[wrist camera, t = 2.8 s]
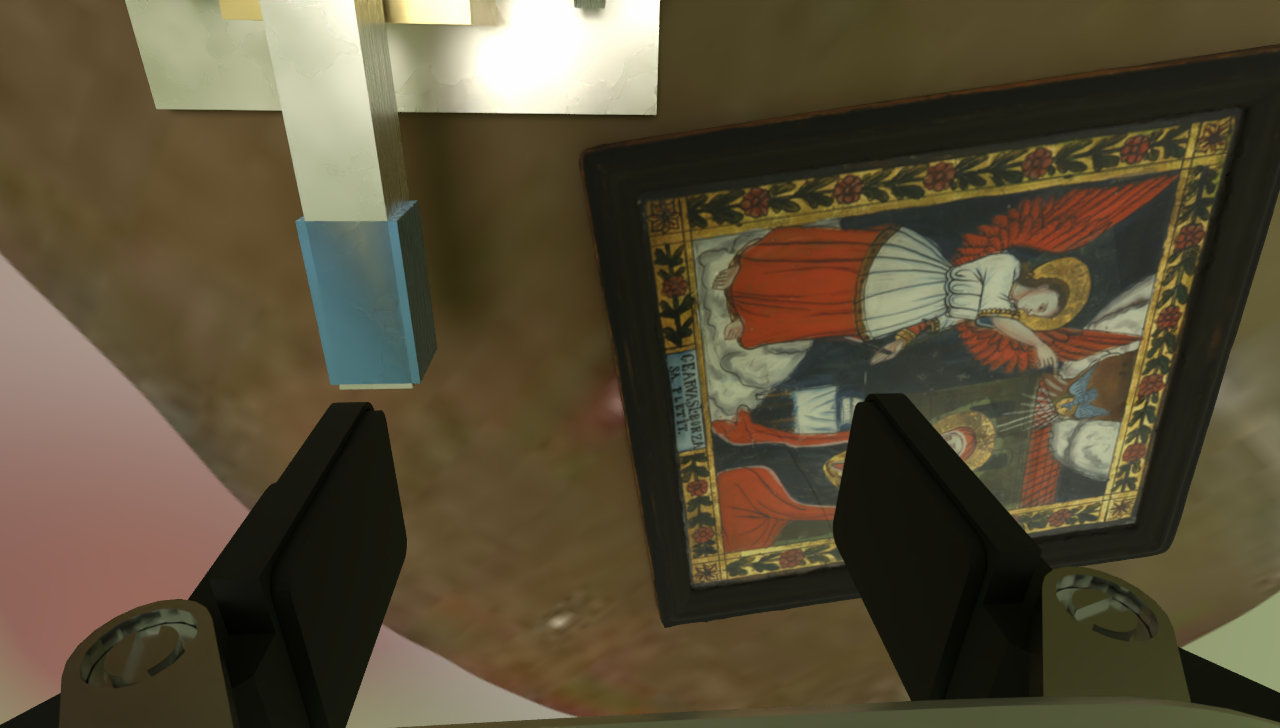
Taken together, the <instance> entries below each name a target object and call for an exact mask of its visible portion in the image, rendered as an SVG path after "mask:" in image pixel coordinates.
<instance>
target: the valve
mask: <svg viewBox="0 0 1280 728" xmlns="http://www.w3.org/2000/svg"><path fill="white" fill-rule="evenodd" d="M382 1H383V9H384V16H385V23H386V31H387V38H388V45H389V53H390V60H391V67H392V75H393V82H394V90H395V97H396V104H397V112H453V113H537V114H621V115H656V114H657V78H658V42H659V5H660V0H382ZM125 2H126V5H127V8H128V12H129V15H130V19H131V22H132V26H133V29H134V33H135V36H136V40H137V43H138V47H139V50H140V54H141V57H142V61H143V64H144V68H145V71H146V75H147V78H148V82H149V85H150V89H151V92H152V95H153V99H154V102H155V106H156V109H201V110H282V108H281V104H280V99H279V94H278V89H277V84H276V80H275V75H274V70H273V65H272V60H271V56H270V51H269V46H268V41H267V36H266V32H265V27H264V22H263V17H262V12H261V8H260V3H259V0H125Z"/></svg>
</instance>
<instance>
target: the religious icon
mask: <svg viewBox="0 0 1280 728" xmlns="http://www.w3.org/2000/svg"><path fill="white" fill-rule="evenodd" d="M579 164H580V170H581V176H582V181H583V187H584V192H585V198H586V203H587V209H588V215H589V220H590V225H591V231H592V236H593V242H594V247H595V253H596V259H597V264H598V270H599V276H600V281H601V287H602V293H603V299H604V304H605V310H606V315H607V321H608V326H609V332H610V338H611V343H612V349H613V355H614V360H615V366H616V372H617V377H618V383H619V389H620V395H621V400H622V405H623V410H624V416H625V423H626V429H627V434H628V440H629V446H630V451H631V457H632V463H633V468H634V474H635V479H636V485H637V491H638V497H639V502H640V508H641V514H642V519H643V525H644V531H645V536H646V542H647V547H648V553H649V559H650V564H651V570H652V575H653V581H654V587H655V596H656V602H657V606H658V610H659V614H660V619H661V621H662V623H663V625H664V628H668V627H672V626H676V625H681V624H688V623H696V622H708V621H712V620H717V619H725V618H730V617H735V616H742V615H749V614H754V613H761V612H768V611H777V610H786V609H791V608H796V607H802V606H809V605H815V604H822V603H829V602H836V601H842V600H849V599H857V598H861V596H860V594H859V592H858V590H857V588H856V586H855V584H854V582H853V579H852V577H851V575H850V573H849V571H848V569H847V567H846V565H845V563H844V561H843V559H842V557H841V555H840V553H839V551H838V548H837V546H836V544H835V541H834V537H833V519H834V514H835V509H836V503H837V498H838V493H839V487H840V482H841V477H842V471H843V466H844V461H845V455H846V450H847V445H848V439H849V434H850V429H851V423H852V418H853V413H854V409H855V406H856V404H857V403H858V402H864V400H865V398H866V397H867V395H869V394H875V393H903V394H904V395H906V396H907V397H908V398H909V400H910V401H911V402H912V403H913V404H914V405H915V406H916V408H917V409H918V410H919V411H920V412H921V413H922V414H923V415H924V417H925V418H926V419H927V420H928V421H929V422H930V423H931V425H932V426H933V427H934V428H935V429H936V430H937V431H938V433H939V434H940V435H941V436H942V437H943V438H944V439H945V440H946V442H947V443H948V444H949V445H950V446H951V447H952V448H953V450H954V451H955V452H956V453H957V454H958V455H959V456H960V458H961V459H962V460H963V461H964V462H965V463H966V464H967V465H968V467H969V468H970V469H971V470H972V471H973V472H974V473H975V475H976V476H977V477H978V478H979V479H980V480H981V481H982V483H983V484H984V485H985V486H986V487H987V488H988V489H989V491H990V492H991V493H992V494H993V495H994V496H995V497H996V498H997V500H998V501H999V502H1000V503H1001V504H1002V505H1003V506H1004V508H1005V509H1006V510H1007V511H1008V512H1009V513H1010V514H1011V516H1012V517H1013V518H1014V519H1015V520H1016V521H1017V522H1018V523H1019V525H1020V526H1021V527H1022V528H1023V529H1024V530H1025V531H1026V533H1027V534H1028V535H1029V536H1030V537H1031V538H1032V539H1033V541H1034V542H1035V543H1036V544H1037V545H1038V546H1039V547H1040V549H1041V550H1042V553H1041V557H1042V558H1043V559H1044V561H1045V562H1046V563H1047V564H1048V565H1049V566H1050V567H1051V569H1052V570H1053V569H1057V568H1061V567H1066V566H1070V567H1079V566H1086V565H1093V564H1101V563H1107V562H1113V561H1121V560H1127V559H1134V558H1142V557H1148V556H1153V555H1158V554H1161V553H1164V552H1166V551H1167V550H1168V549H1169V548H1170V546H1171V544H1172V542H1173V540H1174V537H1175V534H1176V531H1177V528H1178V526H1179V523H1180V520H1181V516H1182V513H1183V510H1184V506H1185V502H1186V498H1187V495H1188V491H1189V488H1190V485H1191V481H1192V478H1193V475H1194V472H1195V469H1196V465H1197V462H1198V459H1199V455H1200V452H1201V449H1202V445H1203V442H1204V439H1205V435H1206V432H1207V429H1208V426H1209V422H1210V419H1211V416H1212V413H1213V410H1214V406H1215V403H1216V400H1217V396H1218V393H1219V389H1220V386H1221V382H1222V379H1223V376H1224V372H1225V369H1226V365H1227V361H1228V358H1229V354H1230V351H1231V348H1232V346H1233V343H1234V340H1235V337H1236V334H1237V331H1238V328H1239V325H1240V321H1241V318H1242V314H1243V311H1244V308H1245V305H1246V301H1247V298H1248V295H1249V291H1250V288H1251V285H1252V281H1253V278H1254V275H1255V272H1256V268H1257V265H1258V261H1259V258H1260V255H1261V251H1262V248H1263V245H1264V242H1265V238H1266V235H1267V232H1268V228H1269V225H1270V221H1271V218H1272V215H1273V211H1274V207H1275V204H1276V201H1277V197H1278V194H1279V190H1280V45H1271V46H1264V47H1257V48H1251V49H1244V50H1237V51H1231V52H1224V53H1218V54H1211V55H1205V56H1198V57H1192V58H1186V59H1178V60H1171V61H1165V62H1158V63H1153V64H1147V65H1141V66H1134V67H1125V68H1117V69H1109V70H1101V71H1094V72H1087V73H1081V74H1073V75H1067V76H1059V77H1052V78H1045V79H1038V80H1032V81H1025V82H1018V83H1011V84H1004V85H998V86H990V87H983V88H976V89H970V90H963V91H956V92H949V93H941V94H934V95H927V96H921V97H914V98H907V99H899V100H892V101H885V102H878V103H872V104H866V105H858V106H852V107H846V108H839V109H832V110H825V111H818V112H811V113H805V114H798V115H792V116H785V117H778V118H772V119H765V120H759V121H752V122H746V123H740V124H734V125H727V126H721V127H714V128H708V129H702V130H696V131H690V132H682V133H675V134H668V135H662V136H655V137H648V138H641V139H635V140H629V141H623V142H618V143H612V144H603V145H599V146H596V147H592V148H589V149H587V150H585V151H584V152H583V153H582V154H581V156H580V160H579Z"/></svg>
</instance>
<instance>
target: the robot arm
mask: <svg viewBox="0 0 1280 728" xmlns="http://www.w3.org/2000/svg"><path fill="white" fill-rule="evenodd" d="M833 537H834V541H835V544H836V546H837V548H838V551H839V553H840V555H841V557H842V559H843V561H844V563H845V565H846V567H847V569H848V571H849V573H850V575H851V577H852V579H853V582H854V584H855V586H856V588H857V590H858V592H859V594H860V596H861V598H862V600H863V602H864V604H865V606H866V608H867V610H868V613H869V615H870V617H871V619H872V621H873V623H874V625H875V627H876V629H877V631H878V633H879V635H880V637H881V639H882V641H883V643H884V646H885V648H886V650H887V652H888V654H889V656H890V658H891V660H892V662H893V664H894V666H895V668H896V670H897V672H898V674H899V677H900V679H901V681H902V683H903V685H904V687H905V689H906V691H907V693H908V695H909V697H910V699H911V701H906V702H883V703H861V704H839V705H817V706H794V707H773V708H753V709H733V710H713V711H693V712H673V713H653V714H634V715H615V716H595V717H576V718H558V719H541V720H540V719H539V720H522V721H506V722H487V723H469V724H451V725H433V726H416V727H398V728H1280V693H1279V692H1277V691H1275V690H1272V689H1270V688H1268V687H1266V686H1263V685H1261V684H1259V683H1257V682H1254V681H1252V680H1250V679H1248V678H1246V677H1244V676H1241V675H1239V674H1237V673H1235V672H1232V671H1230V670H1228V669H1226V668H1224V667H1221V666H1219V665H1217V664H1215V663H1212V662H1210V661H1208V660H1206V659H1204V658H1201V657H1199V656H1197V655H1195V654H1193V653H1190V652H1188V651H1186V650H1183V649H1181V648H1179V647H1178V645H1177V641H1176V637H1175V633H1174V628H1173V626H1172V624H1171V622H1170V620H1169V618H1168V616H1167V614H1166V613H1165V612H1164V611H1163V610H1162V608H1161V607H1160V606H1159V605H1158V604H1157V603H1156V602H1155V601H1154V600H1153V599H1152V598H1150V597H1149V596H1148V595H1146V594H1145V593H1144V592H1143V591H1141V590H1140V589H1139V588H1137V587H1135V586H1133V585H1131V584H1130V583H1128V582H1126V581H1124V580H1122V579H1121V578H1118V577H1115V576H1113V575H1110V574H1108V573H1105V572H1102V571H1099V570H1094V569H1090V568H1085V567H1070V566H1066V567H1061V568H1057V569H1053V570H1052V569H1051V567H1050V566H1049V565H1048V564H1047V563H1046V562H1045V561H1044V559H1043V558H1042V557H1041V553H1042V550H1041V549H1040V547H1039V546H1038V545H1037V544H1036V543H1035V542H1034V541H1033V539H1032V538H1031V537H1030V536H1029V535H1028V534H1027V533H1026V531H1025V530H1024V529H1023V528H1022V527H1021V526H1020V525H1019V523H1018V522H1017V521H1016V520H1015V519H1014V518H1013V517H1012V516H1011V514H1010V513H1009V512H1008V511H1007V510H1006V509H1005V508H1004V506H1003V505H1002V504H1001V503H1000V502H999V501H998V500H997V498H996V497H995V496H994V495H993V494H992V493H991V492H990V491H989V489H988V488H987V487H986V486H985V485H984V484H983V483H982V481H981V480H980V479H979V478H978V477H977V476H976V475H975V473H974V472H973V471H972V470H971V469H970V468H969V467H968V465H967V464H966V463H965V462H964V461H963V460H962V459H961V458H960V456H959V455H958V454H957V453H956V452H955V451H954V450H953V448H952V447H951V446H950V445H949V444H948V443H947V442H946V440H945V439H944V438H943V437H942V436H941V435H940V434H939V433H938V431H937V430H936V429H935V428H934V427H933V426H932V425H931V423H930V422H929V421H928V420H927V419H926V418H925V417H924V415H923V414H922V413H921V412H920V411H919V410H918V409H917V408H916V406H915V405H914V404H913V403H912V402H911V401H910V400H909V398H908V397H907V396H906V395H904V394H903V393H875V394H869V395H867V397H866V398H865V400H864V402H858V403H857V404H856V406H855V409H854V413H853V418H852V423H851V429H850V434H849V439H848V445H847V450H846V455H845V461H844V466H843V471H842V477H841V482H840V487H839V493H838V498H837V503H836V509H835V514H834V519H833ZM406 549H407V537H406V531H405V525H404V519H403V513H402V508H401V502H400V496H399V491H398V485H397V479H396V474H395V468H394V462H393V457H392V451H391V445H390V440H389V434H388V428H387V422H386V418H385V414H384V412H383V411H382V410H380V411H374V408H373V406H372V404H371V403H369V402H348V403H332V404H331V405H330V406H329V408H328V409H327V411H326V412H325V414H324V415H323V416H322V418H321V419H320V421H319V422H318V424H317V425H316V426H315V428H314V429H313V431H312V432H311V434H310V435H309V436H308V438H307V439H306V441H305V442H304V444H303V445H302V447H301V448H300V449H299V451H298V452H297V454H296V455H295V457H294V458H293V459H292V461H291V462H290V464H289V465H288V467H287V468H286V469H285V471H284V472H283V474H282V475H281V477H280V478H279V479H278V481H277V482H276V483H273V484H271V485H270V486H269V487H268V488H267V489H266V490H265V492H264V493H263V495H262V496H261V497H260V499H259V500H258V502H257V503H256V504H255V506H254V507H253V509H252V510H251V512H250V513H249V514H248V516H247V517H246V519H245V520H244V521H243V523H242V524H241V526H240V527H239V528H238V530H237V531H236V533H235V534H234V535H233V537H232V538H231V540H230V541H229V543H228V544H227V545H226V547H225V548H224V550H223V551H222V553H221V554H220V555H219V557H218V558H217V560H216V561H215V562H214V564H213V565H212V566H211V568H210V569H209V571H208V572H207V574H206V575H205V577H204V578H203V579H202V581H201V582H200V583H199V585H198V586H197V588H196V589H195V591H194V592H193V593H192V595H191V596H190V598H189V599H188V600H183V599H175V600H164V601H157V602H154V603H150V604H147V605H143V606H140V607H137V608H135V609H133V610H130V611H128V612H126V613H124V614H121V615H119V616H117V617H115V618H113V619H112V620H110V621H109V622H107V623H106V624H104V625H103V626H101V627H100V628H98V629H96V630H95V631H94V632H93V633H91V634H90V635H89V636H88V637H87V638H86V639H85V640H84V641H83V642H82V643H80V644H79V645H78V646H77V648H76V649H75V651H74V652H73V653H72V655H71V656H70V657H69V659H68V660H67V662H66V665H65V668H64V671H63V675H62V680H61V693H60V694H58V695H56V696H54V697H52V698H50V699H48V700H47V701H45V702H43V703H41V704H39V705H37V706H35V707H33V708H31V709H30V710H28V711H26V712H24V713H22V714H20V715H18V716H16V717H15V718H13V719H11V720H9V721H7V722H5V723H3V724H1V725H0V728H345V727H346V725H347V722H348V719H349V716H350V713H351V710H352V708H353V705H354V702H355V699H356V696H357V693H358V691H359V688H360V685H361V682H362V679H363V676H364V673H365V671H366V668H367V665H368V662H369V659H370V656H371V653H372V651H373V648H374V645H375V642H376V639H377V636H378V634H379V631H380V627H381V625H382V622H383V619H384V617H385V614H386V611H387V608H388V605H389V602H390V599H391V597H392V594H393V591H394V588H395V585H396V582H397V580H398V577H399V574H400V571H401V568H402V565H403V562H404V559H405V556H406Z"/></svg>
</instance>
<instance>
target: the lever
mask: <svg viewBox="0 0 1280 728" xmlns="http://www.w3.org/2000/svg"><path fill="white" fill-rule="evenodd" d="M259 3H260V8H261V12H262V17H263V22H264V27H265V32H266V36H267V41H268V46H269V51H270V56H271V60H272V65H273V70H274V75H275V80H276V84H277V89H278V94H279V99H280V104H281V108H282V113H283V118H284V123H285V127H286V132H287V137H288V142H289V147H290V151H291V156H292V161H293V166H294V171H295V175H296V180H297V185H298V190H299V195H300V199H301V204H302V209H303V214H304V216H303V217H301V218H299V219H298V220H296V226H297V231H298V235H299V240H300V245H301V249H302V254H303V259H304V263H305V268H306V273H307V277H308V282H309V287H310V291H311V296H312V300H313V305H314V310H315V314H316V319H317V324H318V328H319V333H320V338H321V342H322V347H323V352H324V356H325V361H326V366H327V370H328V375H329V380H330V384H331V385H339V386H340V389H396V388H413V387H414V385H415V383H421V381H422V379H423V377H424V375H425V373H426V371H427V369H428V367H429V365H430V363H431V360H432V358H433V356H434V354H435V352H436V350H437V343H436V335H435V328H434V320H433V312H432V305H431V297H430V289H429V282H428V274H427V266H426V259H425V251H424V243H423V236H422V228H421V220H420V213H419V205H418V201H417V200H409V193H408V185H407V178H406V171H405V163H404V156H403V148H402V141H401V134H400V126H399V119H398V112H397V104H396V97H395V90H394V82H393V75H392V67H391V60H390V53H389V45H388V38H387V31H386V23H385V16H384V9H383V1H382V0H259Z"/></svg>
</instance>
